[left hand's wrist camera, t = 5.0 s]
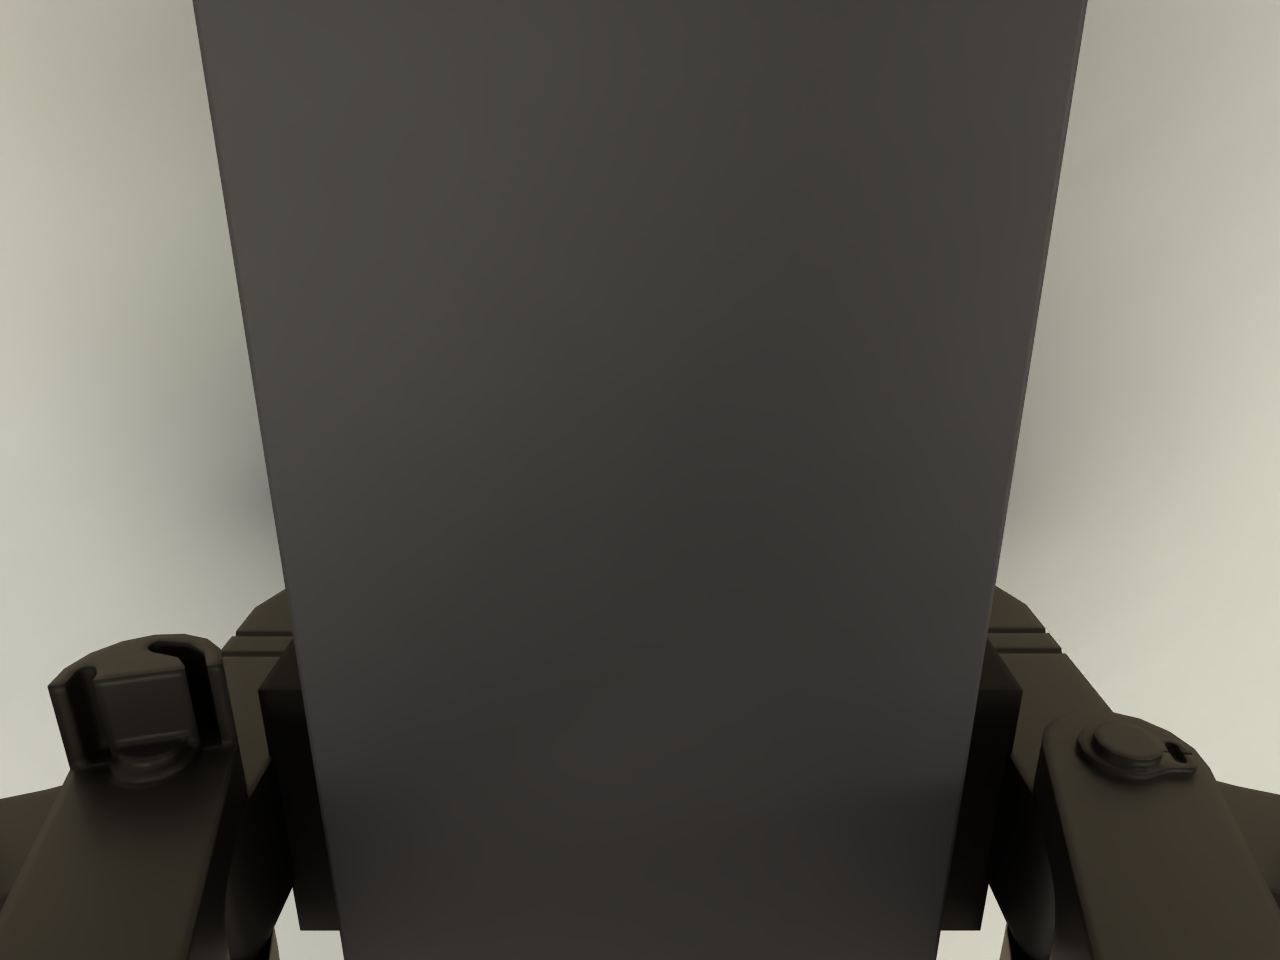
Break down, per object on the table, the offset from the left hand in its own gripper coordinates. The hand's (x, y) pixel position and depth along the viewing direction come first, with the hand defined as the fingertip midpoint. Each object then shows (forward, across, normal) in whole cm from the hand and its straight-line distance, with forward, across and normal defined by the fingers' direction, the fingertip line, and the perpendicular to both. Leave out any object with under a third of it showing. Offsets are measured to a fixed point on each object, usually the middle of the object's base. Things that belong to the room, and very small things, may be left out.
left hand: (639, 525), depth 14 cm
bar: (+1, 0, -33) cm, 33 cm away
